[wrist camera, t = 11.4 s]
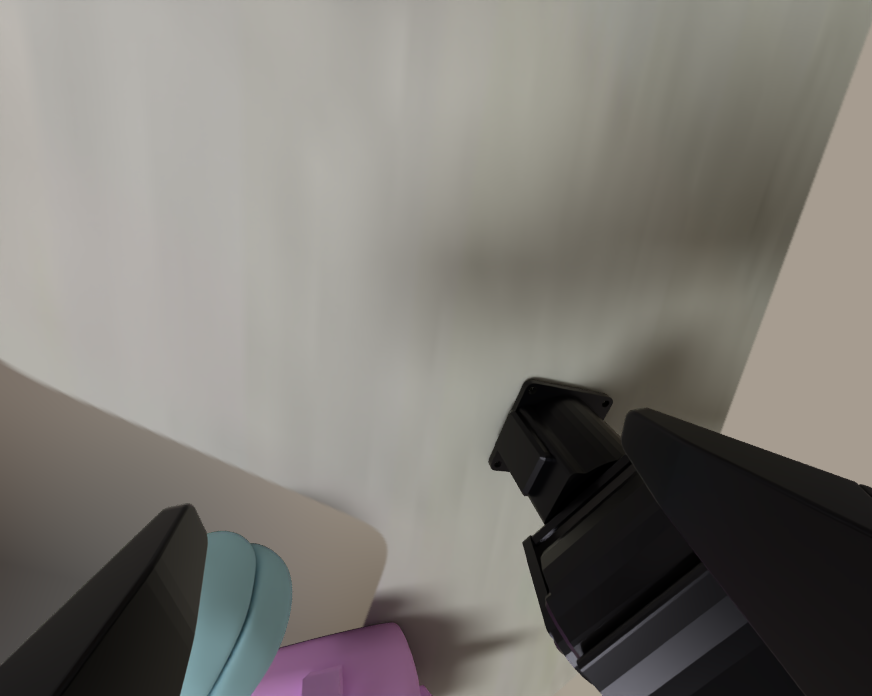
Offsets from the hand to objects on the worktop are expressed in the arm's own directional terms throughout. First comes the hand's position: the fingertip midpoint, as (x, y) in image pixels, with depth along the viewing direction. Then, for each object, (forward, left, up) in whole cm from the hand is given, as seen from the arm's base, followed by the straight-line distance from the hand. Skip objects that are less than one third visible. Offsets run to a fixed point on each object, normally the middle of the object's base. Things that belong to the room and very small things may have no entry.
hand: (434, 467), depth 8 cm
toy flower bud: (+5, +20, -12) cm, 24 cm away
